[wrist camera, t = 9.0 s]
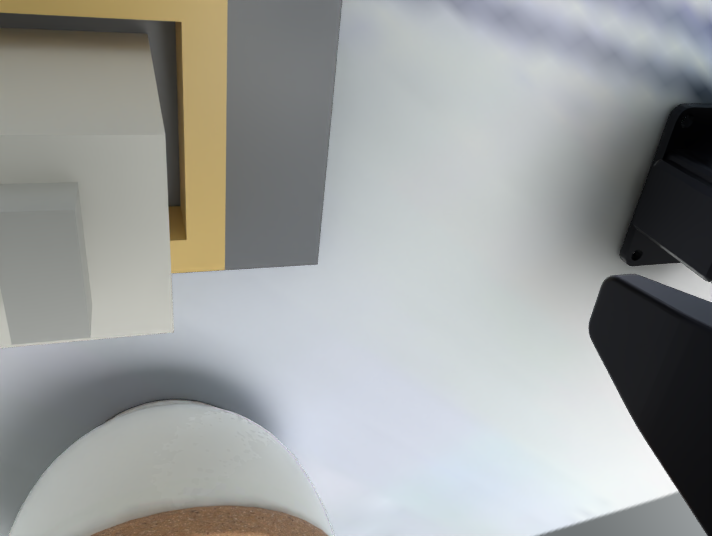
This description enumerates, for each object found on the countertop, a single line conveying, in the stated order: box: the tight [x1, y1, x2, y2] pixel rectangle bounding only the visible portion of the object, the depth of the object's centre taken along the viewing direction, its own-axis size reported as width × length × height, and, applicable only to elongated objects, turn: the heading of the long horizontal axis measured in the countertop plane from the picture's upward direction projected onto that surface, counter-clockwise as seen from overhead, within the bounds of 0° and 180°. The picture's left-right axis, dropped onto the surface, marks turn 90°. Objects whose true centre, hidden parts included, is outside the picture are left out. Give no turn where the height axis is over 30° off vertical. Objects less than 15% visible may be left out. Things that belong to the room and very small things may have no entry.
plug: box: [0, 28, 174, 348], centre depth 14 cm, size 4×4×8 cm
